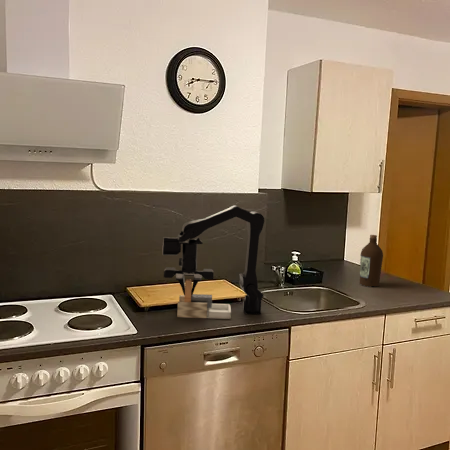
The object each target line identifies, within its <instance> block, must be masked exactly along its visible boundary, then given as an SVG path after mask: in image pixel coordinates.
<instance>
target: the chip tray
mask: <svg viewBox="0 0 450 450" xmlns="http://www.w3.org/2000/svg"><path fill="white" fill-rule="evenodd" d="M206 319H220V320H221V319H223V320H224V319H225V320H231V319H232V309H231V303H212V308H207V318H206Z"/></svg>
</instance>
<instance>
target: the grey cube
mask: <svg viewBox="0 0 450 450" xmlns="http://www.w3.org/2000/svg"><path fill="white" fill-rule="evenodd" d="M202 294H203V293H201V294H200V293H199V294H198V293H197V294H196V293H193V295H191V302H200V303H201V299H202Z"/></svg>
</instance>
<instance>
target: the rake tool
mask: <svg viewBox="0 0 450 450" xmlns="http://www.w3.org/2000/svg"><path fill="white" fill-rule="evenodd" d="M184 281H185V300H184V302H191V291H192V285H193V279H192V278H186V279H184Z"/></svg>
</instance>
